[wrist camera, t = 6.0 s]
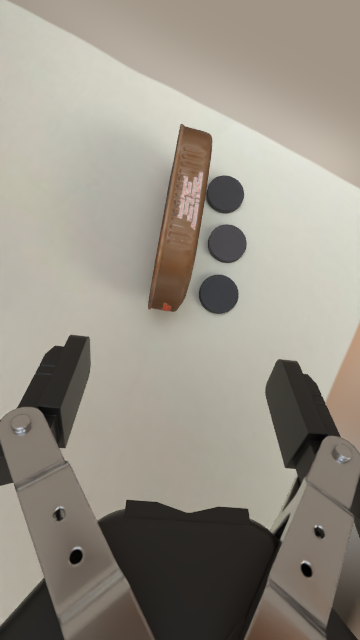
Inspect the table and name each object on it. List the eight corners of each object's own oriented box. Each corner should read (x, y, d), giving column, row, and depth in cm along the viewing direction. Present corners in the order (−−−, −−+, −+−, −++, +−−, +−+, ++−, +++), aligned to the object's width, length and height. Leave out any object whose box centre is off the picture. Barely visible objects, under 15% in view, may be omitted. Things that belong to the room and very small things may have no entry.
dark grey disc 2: (245, 229, 31) (247, 226, 30) (243, 264, 30) (245, 262, 29) (209, 225, 30) (210, 222, 30) (206, 260, 30) (207, 258, 29)
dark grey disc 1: (243, 181, 31) (245, 177, 31) (241, 215, 31) (243, 212, 30) (207, 176, 31) (208, 173, 30) (205, 211, 30) (206, 208, 30)
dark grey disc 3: (237, 278, 30) (239, 276, 29) (235, 315, 29) (237, 314, 29) (200, 274, 30) (201, 272, 29) (197, 312, 29) (198, 311, 28)
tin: (172, 166, 31) (177, 93, 22) (203, 172, 31) (220, 102, 23) (145, 315, 29) (141, 296, 20) (179, 321, 29) (188, 304, 21)
